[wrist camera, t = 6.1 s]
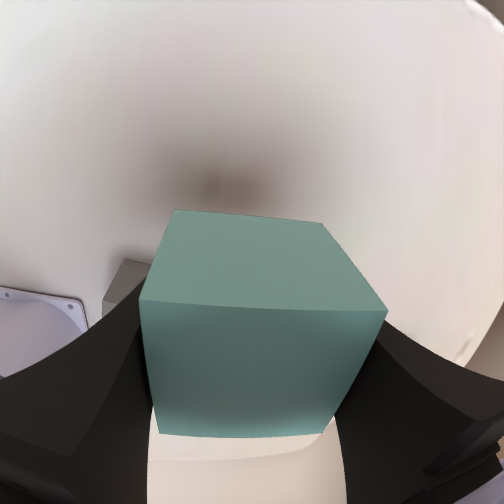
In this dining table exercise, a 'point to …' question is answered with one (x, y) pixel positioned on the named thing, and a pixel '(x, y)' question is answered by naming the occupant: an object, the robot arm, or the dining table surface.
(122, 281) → the grey block
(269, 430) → the teal block
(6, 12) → the dining table surface
